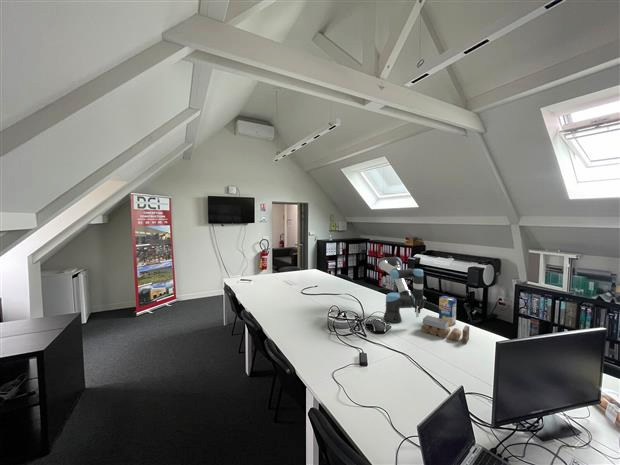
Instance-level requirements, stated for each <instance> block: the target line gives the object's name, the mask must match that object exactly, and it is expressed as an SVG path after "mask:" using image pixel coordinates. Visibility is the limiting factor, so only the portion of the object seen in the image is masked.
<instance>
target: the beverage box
mask: <svg viewBox="0 0 620 465" xmlns="http://www.w3.org/2000/svg"><path fill="white" fill-rule="evenodd" d="M438 298H439V300H438V302H439V303H438V318H441V319H445V320H449V326H450V327H453V326H455V325H456V324H457V323H456V321H457V320H456V319H457V298H456V297H450V296H446V295H442V296H439V297H438ZM449 326H448V327H449Z"/></svg>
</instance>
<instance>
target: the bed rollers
mask: <svg viewBox="0 0 620 465" xmlns="http://www.w3.org/2000/svg"><path fill="white" fill-rule="evenodd" d="M421 331H422V333H424V334H428V333H430V335H431V336H437V335H438V337H439V338H442V339H445V338H447V337H448V335H449V334H450V333H451V328H450V327H449V326H448V327H447V328H446V329H445V330H444V329H440V328H437V327H433V326H429V325H426V324H423V325H422V326H421Z"/></svg>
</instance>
